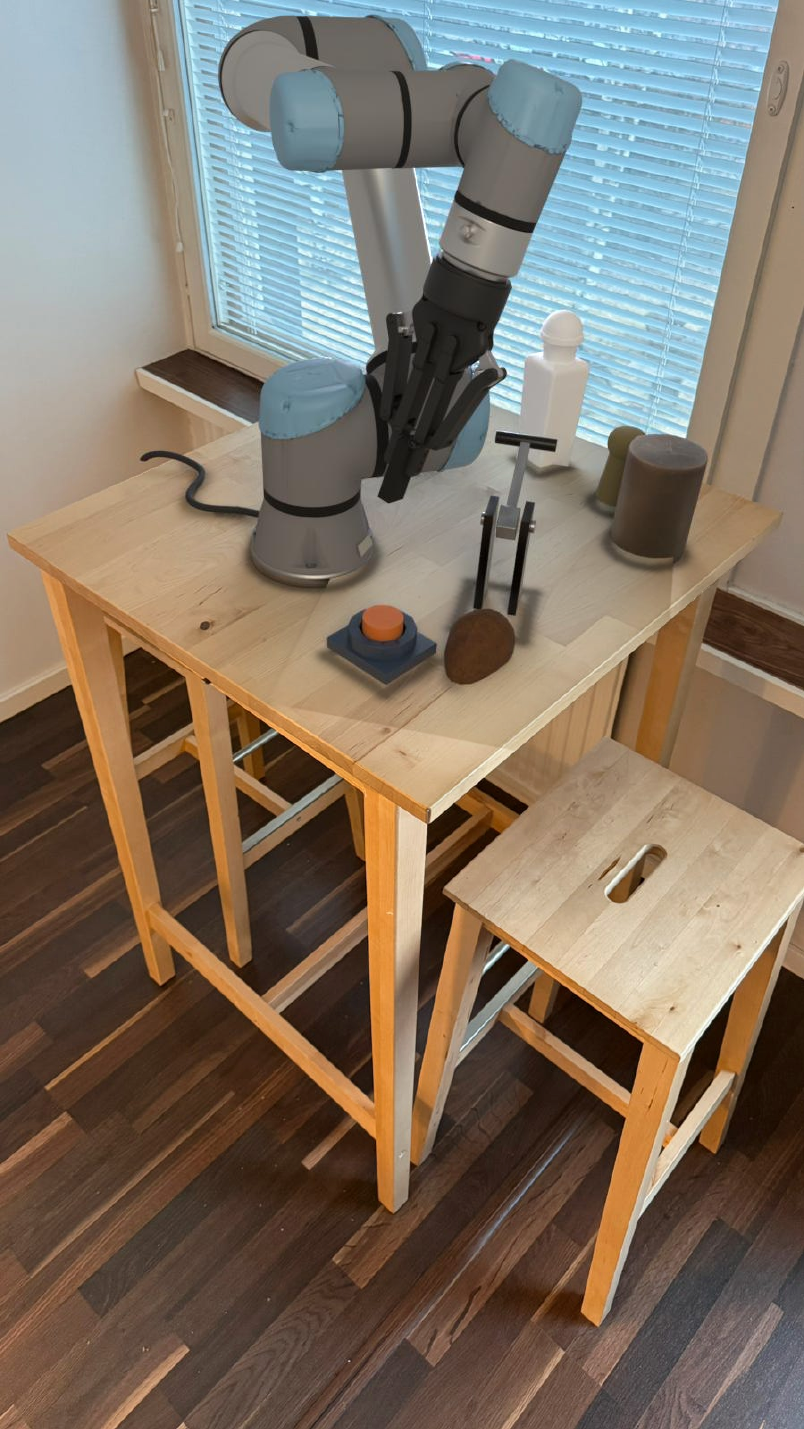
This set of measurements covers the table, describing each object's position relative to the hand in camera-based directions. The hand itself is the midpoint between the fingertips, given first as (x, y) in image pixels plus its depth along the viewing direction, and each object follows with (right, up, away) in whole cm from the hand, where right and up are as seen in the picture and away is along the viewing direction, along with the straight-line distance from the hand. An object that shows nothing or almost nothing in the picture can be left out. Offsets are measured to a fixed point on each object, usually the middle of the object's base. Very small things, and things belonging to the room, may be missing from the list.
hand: (390, 497), depth 104 cm
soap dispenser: (+22, +14, +45) cm, 52 cm away
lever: (+14, +3, +12) cm, 19 cm away
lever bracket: (+12, -10, +17) cm, 23 cm away
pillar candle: (+33, 0, +29) cm, 44 cm away
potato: (+9, -17, +9) cm, 21 cm away
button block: (-1, -16, +9) cm, 18 cm away
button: (-1, -13, +6) cm, 14 cm away
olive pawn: (+30, +7, +37) cm, 48 cm away
